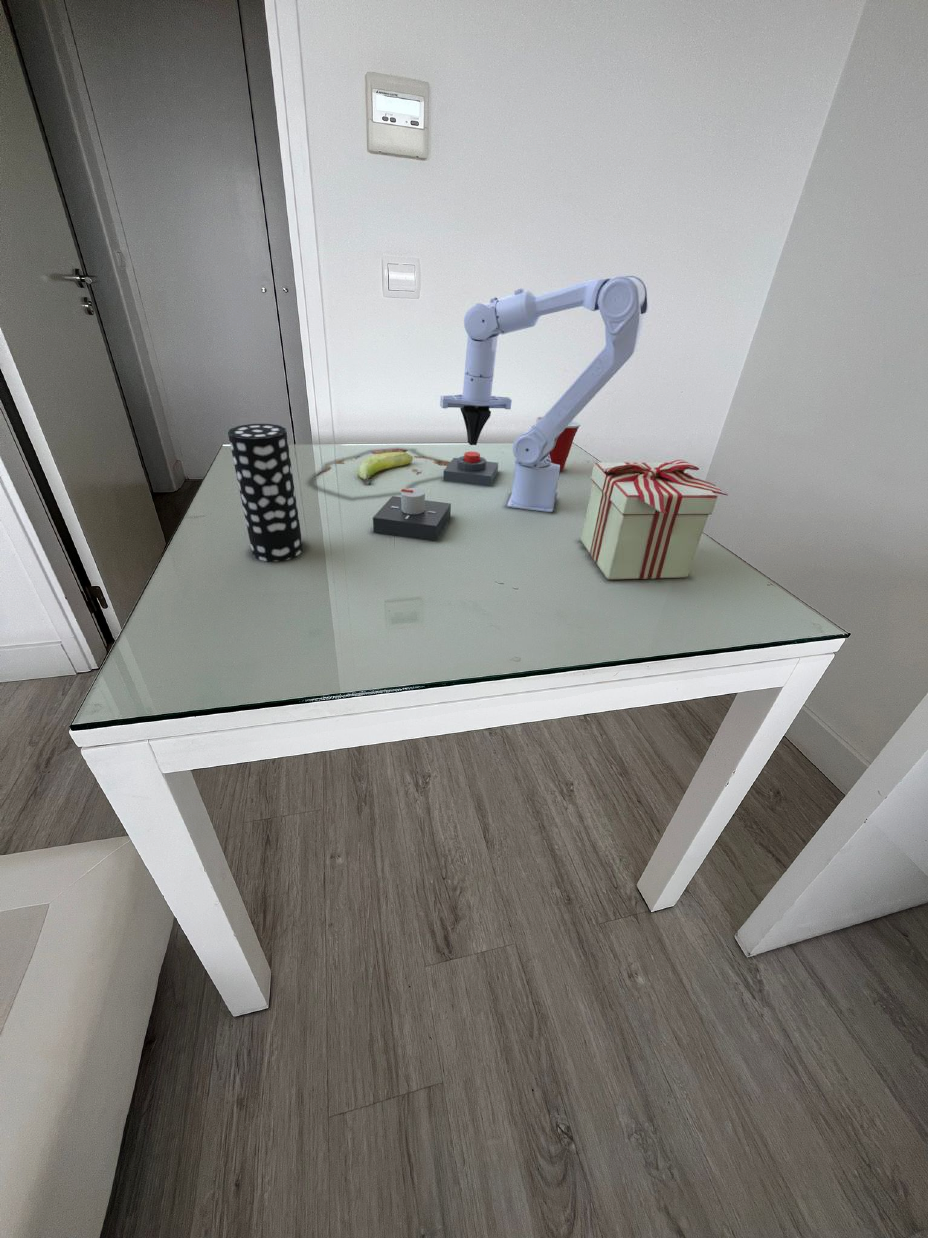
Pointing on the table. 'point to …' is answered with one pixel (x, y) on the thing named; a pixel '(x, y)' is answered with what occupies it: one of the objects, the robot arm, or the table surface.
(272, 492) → the spotted tube
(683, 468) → the gift box
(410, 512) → the timer knob
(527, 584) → the table surface
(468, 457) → the power button
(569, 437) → the plastic cup
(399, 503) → the timer panel
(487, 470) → the switch block
